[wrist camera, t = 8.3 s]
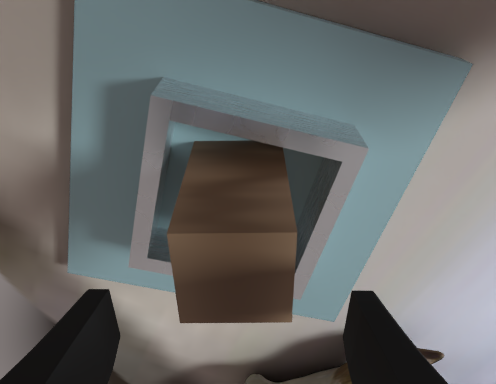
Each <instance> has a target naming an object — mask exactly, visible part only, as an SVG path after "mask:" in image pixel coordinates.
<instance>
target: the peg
mask: <svg viewBox="0 0 496 384" xmlns="http://www.w3.org/2000/svg"><path fill="white" fill-rule="evenodd" d="M167 239H168V246H169V252H170V259H171V266H172V272H173V279H174V286H175V292H176V299H177V305H178V312H179V319H180V323H263V322H292V310H293V294H294V278H295V262H296V246H297V228H296V222H295V216H294V210H293V204H292V198H291V192H290V187H289V181H288V175H287V169H286V163H285V157H284V152H283V147H279V146H274V145H270V144H266V143H262V142H258V141H254V140H239V141H194V143H193V147H192V150H191V154H190V157H189V160H188V164H187V167H186V170H185V174H184V177H183V180H182V184H181V187H180V191H179V194H178V197H177V201H176V204H175V207H174V211H173V214H172V218H171V221H170V224H169V228H168V231H167Z"/></svg>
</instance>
